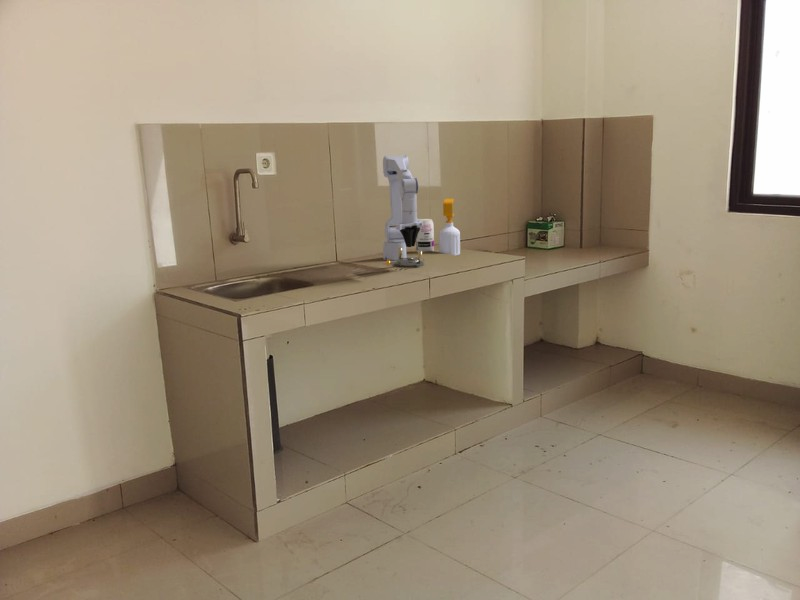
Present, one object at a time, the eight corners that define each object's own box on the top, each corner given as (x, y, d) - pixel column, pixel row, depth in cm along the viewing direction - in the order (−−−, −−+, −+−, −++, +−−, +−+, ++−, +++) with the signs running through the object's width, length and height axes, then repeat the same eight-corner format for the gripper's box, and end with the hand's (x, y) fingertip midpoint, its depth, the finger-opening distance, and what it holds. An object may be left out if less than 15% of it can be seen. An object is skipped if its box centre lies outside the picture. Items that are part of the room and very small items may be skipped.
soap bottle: (461, 253, 303) (461, 197, 298) (457, 256, 295) (457, 199, 289) (442, 253, 306) (441, 198, 300) (437, 256, 297) (436, 199, 291)
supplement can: (425, 250, 314) (424, 218, 311) (437, 252, 308) (437, 219, 304) (412, 252, 309) (411, 219, 306) (424, 254, 303) (423, 221, 299)
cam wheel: (375, 265, 271) (374, 250, 270) (410, 260, 280) (410, 246, 279) (397, 271, 259) (396, 255, 257) (433, 265, 268) (432, 250, 266)
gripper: (405, 213, 248) (406, 249, 251) (429, 209, 259) (430, 244, 262) (390, 212, 252) (392, 248, 255) (414, 208, 263) (415, 243, 266)
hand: (410, 246), depth 259 cm, fingers closed
